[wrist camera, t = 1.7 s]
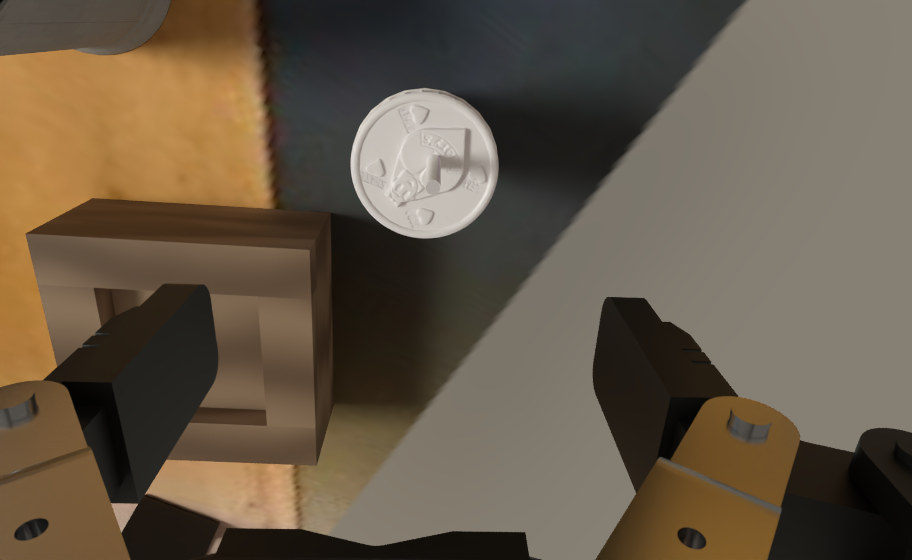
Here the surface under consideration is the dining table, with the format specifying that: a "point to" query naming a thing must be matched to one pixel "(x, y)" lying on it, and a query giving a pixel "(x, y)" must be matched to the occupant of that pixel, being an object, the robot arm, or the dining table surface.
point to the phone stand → (166, 532)
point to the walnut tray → (233, 304)
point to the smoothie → (424, 163)
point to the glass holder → (78, 25)
